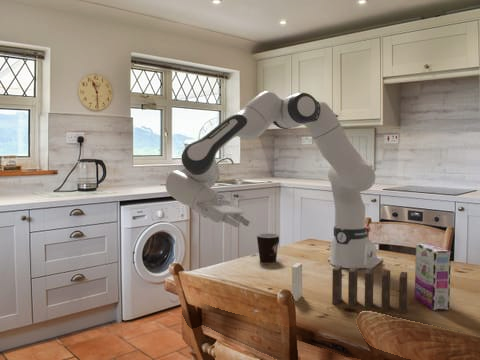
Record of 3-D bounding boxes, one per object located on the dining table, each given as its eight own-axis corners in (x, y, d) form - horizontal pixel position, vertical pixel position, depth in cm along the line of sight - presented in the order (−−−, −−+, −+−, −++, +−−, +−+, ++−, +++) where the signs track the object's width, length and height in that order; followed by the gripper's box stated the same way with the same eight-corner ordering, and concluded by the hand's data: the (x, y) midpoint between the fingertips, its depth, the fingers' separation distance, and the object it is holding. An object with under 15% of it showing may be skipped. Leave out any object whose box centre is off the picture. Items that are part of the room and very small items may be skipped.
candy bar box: (450, 310, 123) (452, 251, 122) (433, 311, 123) (434, 251, 122) (430, 297, 134) (431, 242, 133) (413, 297, 134) (414, 242, 133)
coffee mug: (264, 264, 172) (263, 238, 171) (253, 259, 180) (252, 234, 179) (289, 260, 178) (289, 235, 177) (277, 256, 185) (277, 231, 184)
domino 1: (332, 303, 129) (332, 269, 129) (336, 298, 134) (336, 265, 133) (337, 304, 129) (338, 270, 128) (341, 299, 133) (341, 265, 132)
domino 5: (398, 312, 122) (399, 276, 121) (400, 306, 126) (401, 271, 126) (405, 313, 121) (405, 277, 120) (406, 307, 126) (407, 272, 125)
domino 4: (381, 310, 124) (382, 274, 123) (383, 304, 128) (384, 270, 128) (387, 311, 123) (388, 275, 122) (389, 305, 128) (390, 270, 127)
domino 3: (364, 308, 126) (364, 272, 125) (367, 302, 130) (367, 268, 129) (370, 309, 125) (370, 273, 124) (373, 303, 130) (373, 268, 129)
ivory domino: (291, 300, 132) (291, 266, 132) (297, 295, 137) (297, 262, 136) (297, 301, 132) (297, 267, 131) (302, 295, 136) (302, 263, 136)
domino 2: (348, 305, 128) (348, 271, 127) (351, 300, 132) (352, 266, 131) (353, 306, 127) (354, 271, 126) (357, 301, 131) (357, 267, 131)
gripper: (198, 193, 135) (237, 216, 130) (224, 195, 154) (258, 215, 149) (189, 212, 135) (227, 235, 131) (216, 211, 155) (249, 232, 150)
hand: (244, 224), depth 140 cm, fingers open, 8 cm apart
